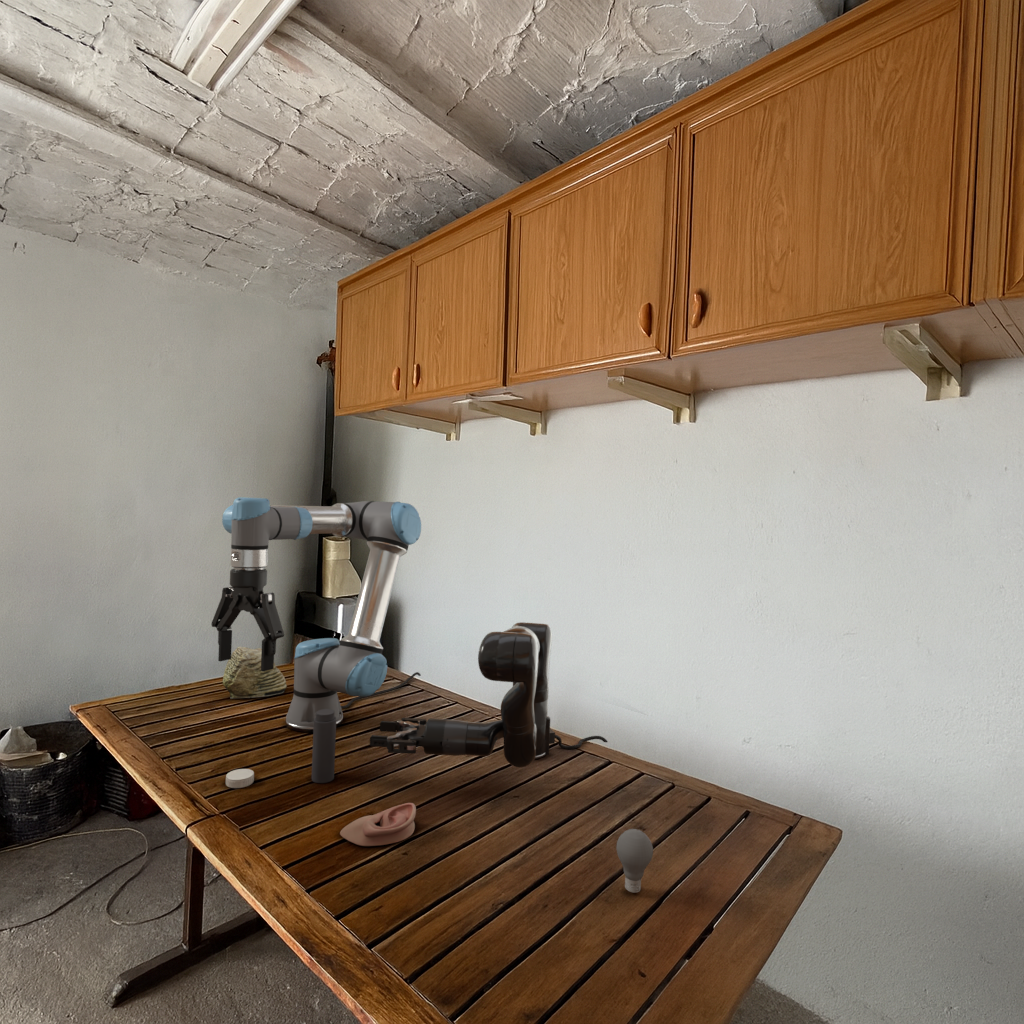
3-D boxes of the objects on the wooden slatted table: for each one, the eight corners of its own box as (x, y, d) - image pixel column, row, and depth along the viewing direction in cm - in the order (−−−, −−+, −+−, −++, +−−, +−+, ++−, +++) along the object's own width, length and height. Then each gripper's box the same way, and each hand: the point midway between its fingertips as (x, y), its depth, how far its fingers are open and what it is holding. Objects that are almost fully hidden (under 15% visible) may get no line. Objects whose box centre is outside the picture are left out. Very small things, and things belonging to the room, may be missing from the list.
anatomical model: (332, 820, 116) (360, 792, 128) (332, 841, 116) (359, 811, 128) (400, 830, 114) (422, 801, 125) (400, 852, 114) (421, 821, 125)
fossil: (218, 695, 195) (220, 647, 195) (278, 685, 208) (279, 640, 207) (228, 703, 189) (230, 653, 188) (289, 692, 201) (290, 645, 201)
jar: (318, 772, 145) (320, 707, 145) (337, 775, 144) (340, 709, 144) (307, 781, 141) (309, 714, 140) (327, 784, 140) (330, 716, 139)
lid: (223, 789, 135) (223, 781, 135) (227, 777, 141) (227, 769, 141) (252, 787, 137) (252, 778, 137) (255, 775, 142) (255, 767, 142)
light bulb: (610, 879, 108) (613, 822, 108) (644, 879, 109) (647, 822, 109) (619, 902, 102) (622, 840, 102) (655, 901, 103) (658, 840, 103)
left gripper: (196, 564, 141) (193, 659, 141) (275, 574, 129) (271, 678, 129) (225, 562, 147) (222, 652, 148) (303, 572, 136) (299, 670, 136)
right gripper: (452, 709, 148) (383, 705, 149) (442, 732, 134) (367, 728, 135) (450, 741, 149) (382, 737, 149) (441, 767, 134) (366, 763, 135)
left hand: (245, 665), depth 139 cm, fingers open, 13 cm apart
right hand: (375, 733), depth 142 cm, fingers open, 8 cm apart
